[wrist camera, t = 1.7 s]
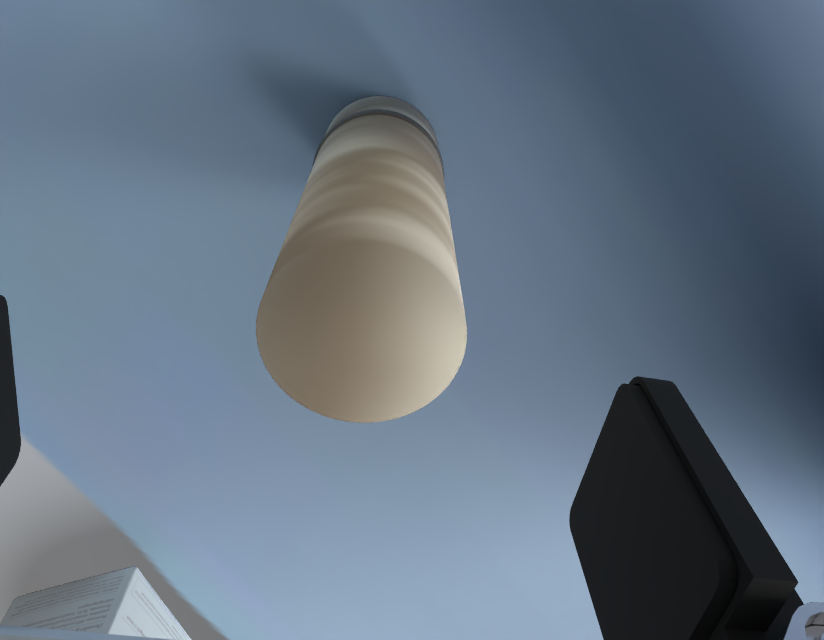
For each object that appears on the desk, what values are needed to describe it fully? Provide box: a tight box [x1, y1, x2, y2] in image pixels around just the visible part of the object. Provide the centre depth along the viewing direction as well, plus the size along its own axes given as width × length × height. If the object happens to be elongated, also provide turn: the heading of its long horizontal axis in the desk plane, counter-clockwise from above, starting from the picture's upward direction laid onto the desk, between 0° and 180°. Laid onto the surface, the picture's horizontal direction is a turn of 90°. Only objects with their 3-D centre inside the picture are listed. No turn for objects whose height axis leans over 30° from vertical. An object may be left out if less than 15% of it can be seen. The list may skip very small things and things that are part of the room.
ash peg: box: [256, 96, 467, 423], centre depth 20 cm, size 4×4×14 cm
